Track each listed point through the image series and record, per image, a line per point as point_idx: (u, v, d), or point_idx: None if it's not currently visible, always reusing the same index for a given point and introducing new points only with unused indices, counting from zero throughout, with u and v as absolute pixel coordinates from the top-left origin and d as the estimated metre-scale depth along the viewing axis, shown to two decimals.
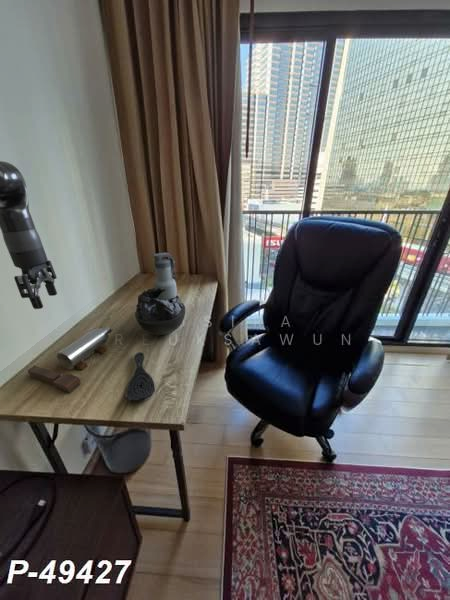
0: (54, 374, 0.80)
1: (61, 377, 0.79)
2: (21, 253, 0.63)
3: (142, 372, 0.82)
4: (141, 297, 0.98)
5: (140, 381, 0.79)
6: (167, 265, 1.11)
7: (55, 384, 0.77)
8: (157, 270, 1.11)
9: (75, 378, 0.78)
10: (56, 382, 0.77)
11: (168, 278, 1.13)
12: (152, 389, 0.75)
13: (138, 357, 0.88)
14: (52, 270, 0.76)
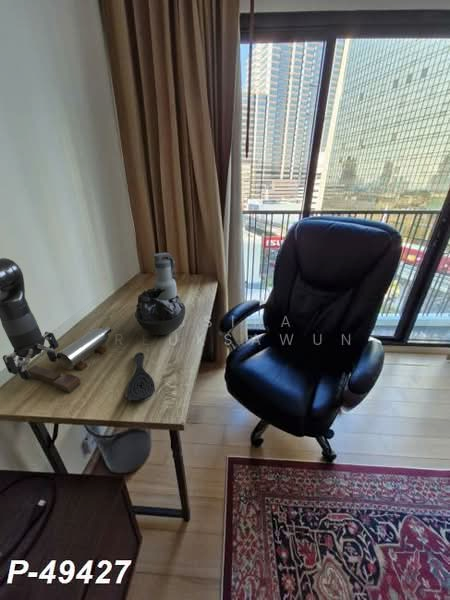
0: (54, 374, 0.80)
1: (61, 377, 0.79)
2: (11, 337, 0.70)
3: (142, 372, 0.82)
4: (141, 297, 0.98)
5: (140, 381, 0.79)
6: (167, 265, 1.11)
7: (55, 384, 0.77)
8: (157, 270, 1.11)
9: (75, 378, 0.78)
10: (56, 382, 0.77)
11: (168, 278, 1.13)
12: (152, 389, 0.75)
13: (138, 357, 0.88)
14: (54, 341, 0.82)
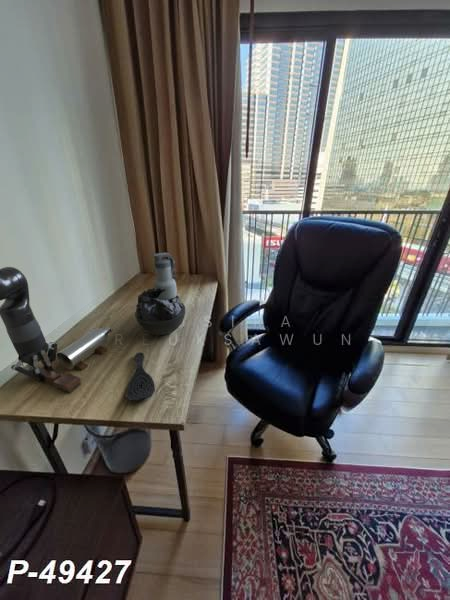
0: (55, 374, 0.80)
1: (62, 377, 0.79)
2: (15, 343, 0.72)
3: (142, 372, 0.82)
4: (141, 297, 0.98)
5: (140, 381, 0.79)
6: (167, 265, 1.11)
7: (55, 384, 0.77)
8: (157, 270, 1.11)
9: (75, 378, 0.78)
10: (56, 382, 0.77)
11: (168, 278, 1.13)
12: (152, 389, 0.75)
13: (138, 357, 0.88)
14: (54, 352, 0.83)
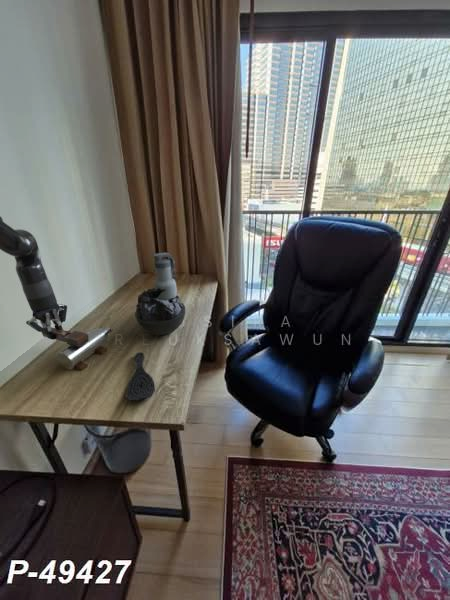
0: (65, 332, 0.87)
1: (71, 333, 0.86)
2: (30, 300, 0.79)
3: (142, 372, 0.82)
4: (141, 297, 0.98)
5: (140, 381, 0.79)
6: (167, 265, 1.11)
7: (66, 339, 0.84)
8: (157, 270, 1.11)
9: (84, 334, 0.85)
10: (67, 337, 0.84)
11: (168, 278, 1.13)
12: (152, 389, 0.75)
13: (138, 357, 0.88)
14: (64, 313, 0.90)
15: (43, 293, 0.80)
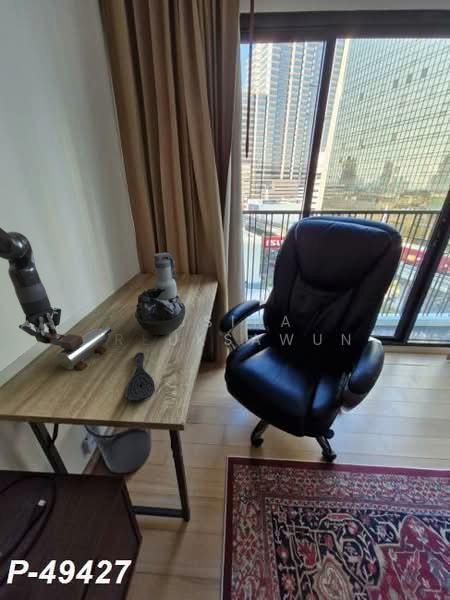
0: (59, 335, 0.85)
1: (65, 337, 0.84)
2: (23, 304, 0.77)
3: (142, 372, 0.82)
4: (141, 297, 0.98)
5: (140, 381, 0.79)
6: (167, 265, 1.11)
7: (60, 342, 0.83)
8: (157, 270, 1.11)
9: (78, 337, 0.84)
10: (60, 340, 0.82)
11: (168, 278, 1.13)
12: (152, 389, 0.75)
13: (138, 357, 0.88)
14: (58, 317, 0.88)
15: (36, 297, 0.78)
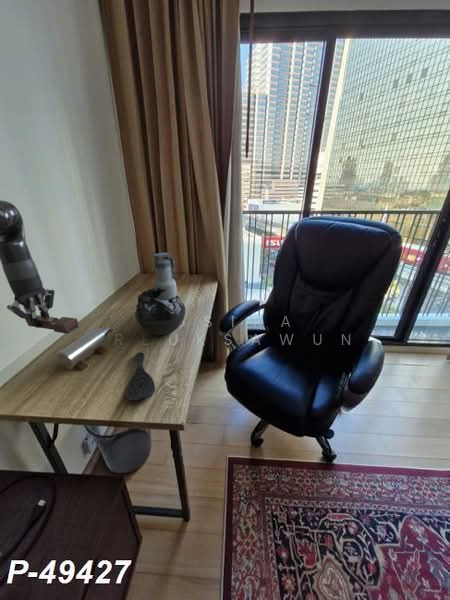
0: (52, 318, 0.78)
1: (59, 319, 0.77)
2: (12, 281, 0.70)
3: (142, 372, 0.82)
4: (141, 297, 0.98)
5: (140, 381, 0.79)
6: (167, 265, 1.11)
7: (53, 325, 0.75)
8: (157, 270, 1.11)
9: (73, 319, 0.77)
10: (53, 323, 0.75)
11: (168, 278, 1.13)
12: (152, 389, 0.75)
13: (138, 357, 0.88)
14: (51, 299, 0.81)
15: (26, 274, 0.71)
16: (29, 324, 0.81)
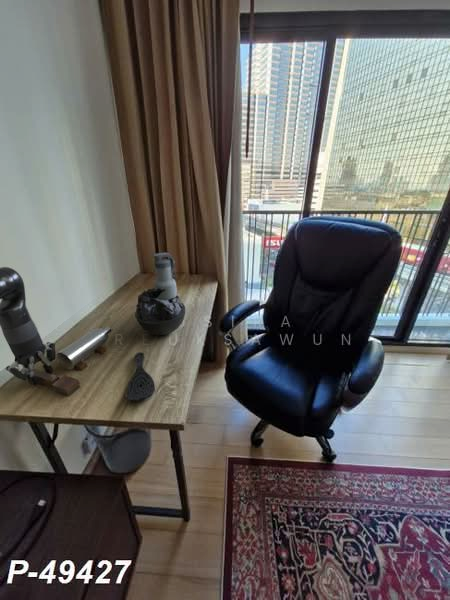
0: (53, 377, 0.79)
1: (60, 379, 0.78)
2: (11, 345, 0.70)
3: (142, 372, 0.82)
4: (141, 297, 0.98)
5: (140, 381, 0.79)
6: (167, 265, 1.11)
7: (54, 387, 0.76)
8: (157, 270, 1.11)
9: (74, 381, 0.77)
10: (55, 385, 0.76)
11: (168, 278, 1.13)
12: (152, 389, 0.75)
13: (138, 357, 0.88)
14: (52, 352, 0.82)
15: (26, 337, 0.71)
16: None
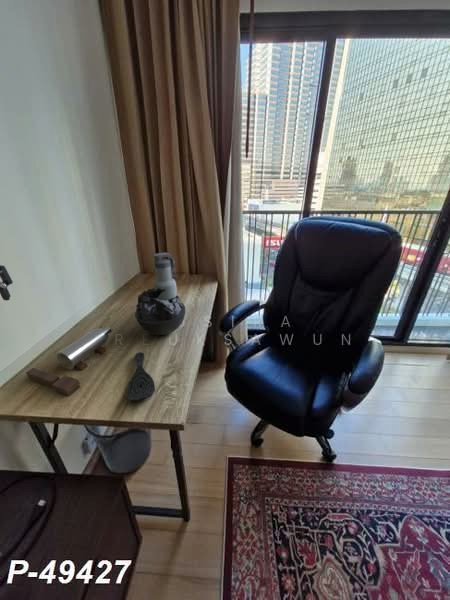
0: (53, 377, 0.79)
1: (60, 379, 0.78)
2: None
3: (142, 372, 0.82)
4: (141, 297, 0.98)
5: (140, 381, 0.79)
6: (167, 265, 1.11)
7: (54, 387, 0.76)
8: (157, 270, 1.11)
9: (74, 381, 0.77)
10: (55, 385, 0.76)
11: (168, 278, 1.13)
12: (152, 389, 0.75)
13: (138, 357, 0.88)
14: (6, 275, 0.74)
15: None
16: (30, 378, 0.82)
